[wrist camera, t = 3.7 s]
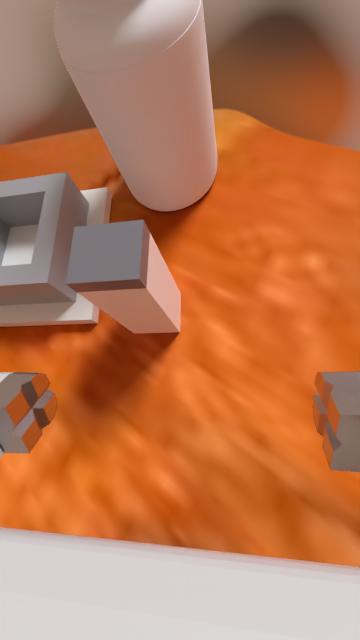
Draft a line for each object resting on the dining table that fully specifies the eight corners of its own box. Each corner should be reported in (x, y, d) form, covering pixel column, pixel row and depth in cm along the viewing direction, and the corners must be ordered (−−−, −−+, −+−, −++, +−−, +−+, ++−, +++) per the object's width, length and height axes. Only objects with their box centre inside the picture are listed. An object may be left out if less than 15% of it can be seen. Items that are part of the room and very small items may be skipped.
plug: (180, 293, 22) (143, 219, 13) (179, 332, 21) (139, 278, 12) (136, 296, 22) (74, 226, 14) (134, 333, 21) (65, 283, 13)
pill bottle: (112, 184, 26) (-35, -78, 12) (175, 127, 27) (104, -185, 13) (169, 232, 23) (64, -34, 9) (238, 168, 24) (236, -174, 10)
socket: (112, 195, 26) (87, 153, 22) (97, 323, 22) (64, 303, 18) (-3, 210, 28) (-46, 174, 24) (-33, 328, 24) (-89, 310, 20)
